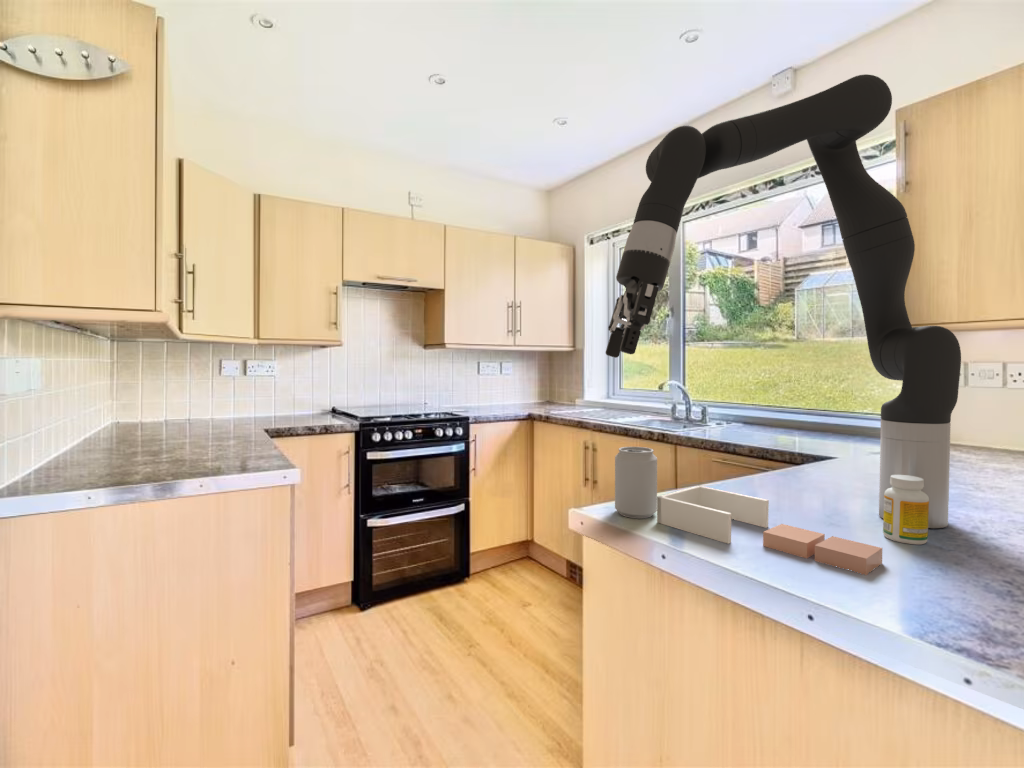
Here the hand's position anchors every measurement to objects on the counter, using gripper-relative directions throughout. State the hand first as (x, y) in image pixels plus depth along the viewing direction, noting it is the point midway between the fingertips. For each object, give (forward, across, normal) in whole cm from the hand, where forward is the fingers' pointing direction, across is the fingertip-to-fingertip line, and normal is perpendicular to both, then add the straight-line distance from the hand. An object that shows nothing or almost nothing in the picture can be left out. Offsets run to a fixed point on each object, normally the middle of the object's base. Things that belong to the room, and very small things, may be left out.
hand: (618, 354), depth 77 cm
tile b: (+20, -12, -35) cm, 43 cm away
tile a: (+21, -7, -32) cm, 39 cm away
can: (+26, +11, -14) cm, 31 cm away
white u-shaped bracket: (+22, +4, -24) cm, 34 cm away
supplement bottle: (+15, -5, -50) cm, 52 cm away
